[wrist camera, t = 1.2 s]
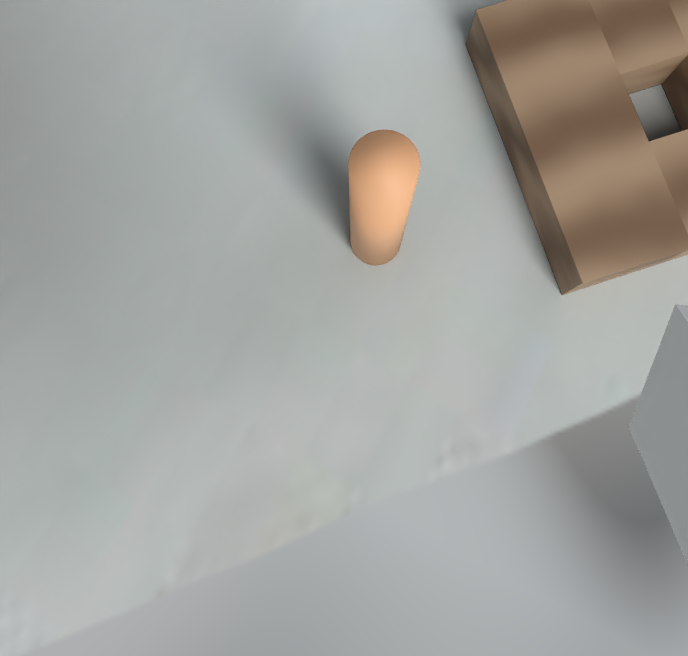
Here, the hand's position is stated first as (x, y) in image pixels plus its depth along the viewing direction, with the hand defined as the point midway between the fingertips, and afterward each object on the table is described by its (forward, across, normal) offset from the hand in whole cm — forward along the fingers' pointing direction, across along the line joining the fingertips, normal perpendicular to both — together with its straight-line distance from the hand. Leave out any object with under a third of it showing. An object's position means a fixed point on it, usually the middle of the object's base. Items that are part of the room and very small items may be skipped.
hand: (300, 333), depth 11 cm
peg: (+26, 0, -9) cm, 28 cm away
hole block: (+33, +17, -2) cm, 37 cm away
